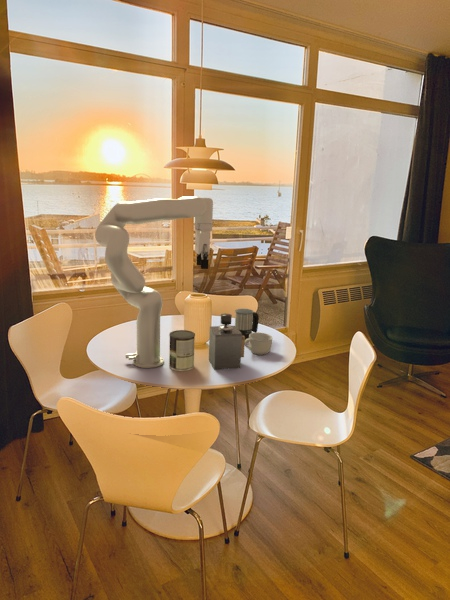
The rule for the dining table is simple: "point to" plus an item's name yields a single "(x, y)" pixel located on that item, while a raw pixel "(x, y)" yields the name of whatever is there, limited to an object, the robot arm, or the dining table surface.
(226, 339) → the gray box
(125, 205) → the robot arm
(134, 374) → the dining table surface
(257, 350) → the teacup
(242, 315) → the milk frother
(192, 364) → the coffee can
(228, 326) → the plunger
